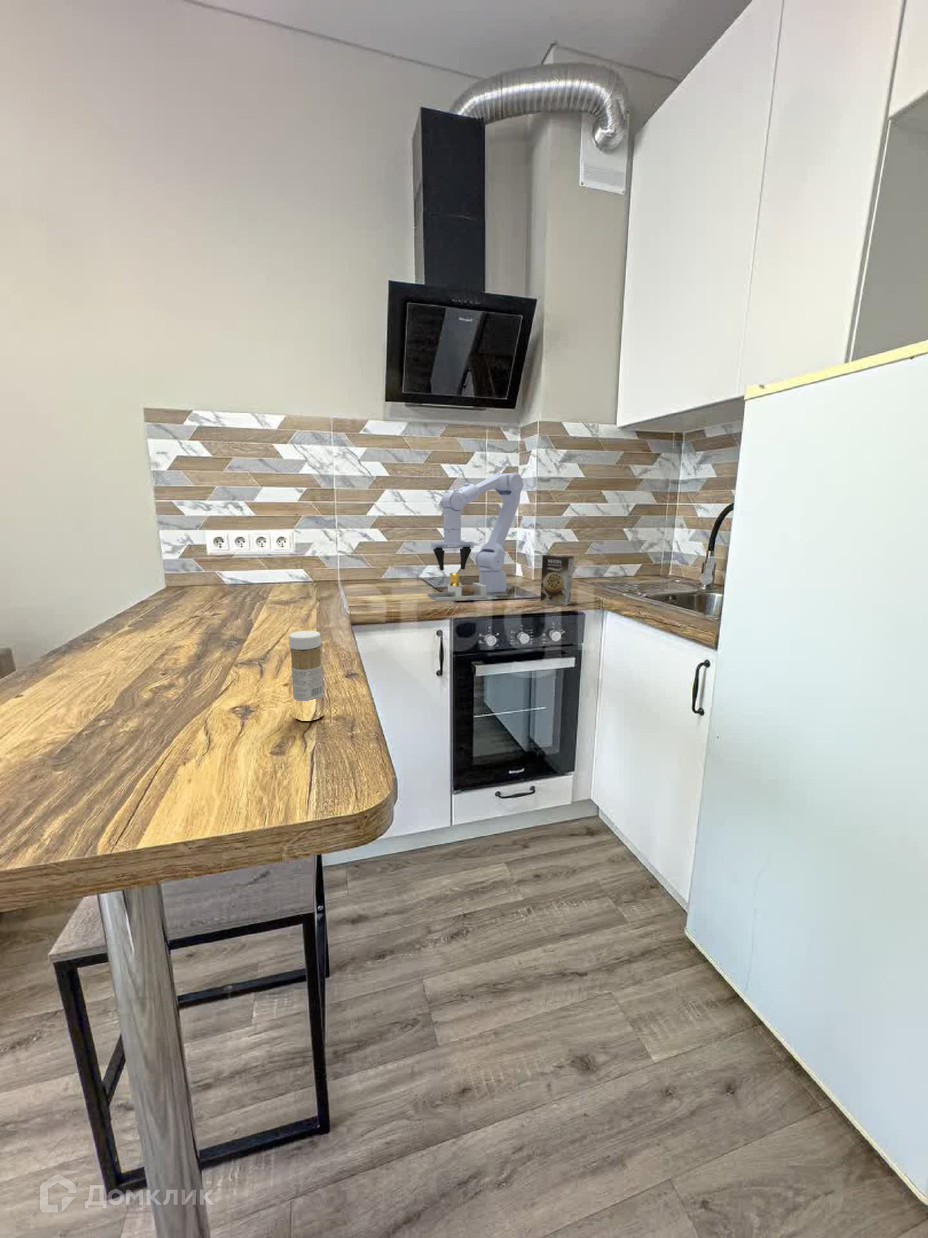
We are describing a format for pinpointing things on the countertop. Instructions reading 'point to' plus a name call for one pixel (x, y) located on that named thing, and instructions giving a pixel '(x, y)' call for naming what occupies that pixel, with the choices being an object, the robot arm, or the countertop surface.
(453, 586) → the cracker jaw
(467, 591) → the walnut
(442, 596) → the cracker base
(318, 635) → the spice jar
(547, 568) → the coffee box
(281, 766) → the countertop surface
